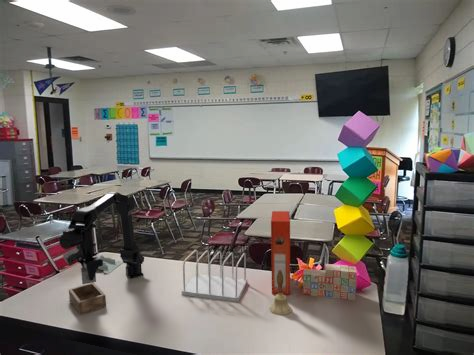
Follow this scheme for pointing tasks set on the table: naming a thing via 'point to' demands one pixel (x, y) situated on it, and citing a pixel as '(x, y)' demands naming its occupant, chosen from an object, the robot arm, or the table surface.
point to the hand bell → (280, 299)
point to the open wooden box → (87, 298)
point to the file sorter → (215, 282)
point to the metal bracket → (109, 264)
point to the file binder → (280, 249)
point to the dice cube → (86, 277)
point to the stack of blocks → (331, 282)
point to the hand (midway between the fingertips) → (89, 278)
